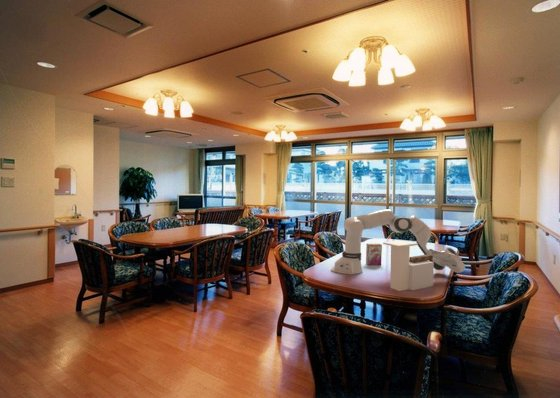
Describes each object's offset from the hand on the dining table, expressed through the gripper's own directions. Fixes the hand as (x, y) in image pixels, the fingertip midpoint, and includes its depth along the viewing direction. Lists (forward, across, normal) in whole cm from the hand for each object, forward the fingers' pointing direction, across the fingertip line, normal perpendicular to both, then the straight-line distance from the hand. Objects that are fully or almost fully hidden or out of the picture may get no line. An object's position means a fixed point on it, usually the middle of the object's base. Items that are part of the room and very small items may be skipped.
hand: (436, 251), depth 209 cm
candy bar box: (-6, -52, +20) cm, 56 cm away
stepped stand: (+13, 0, +30) cm, 33 cm away
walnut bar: (+10, 0, +11) cm, 15 cm away
